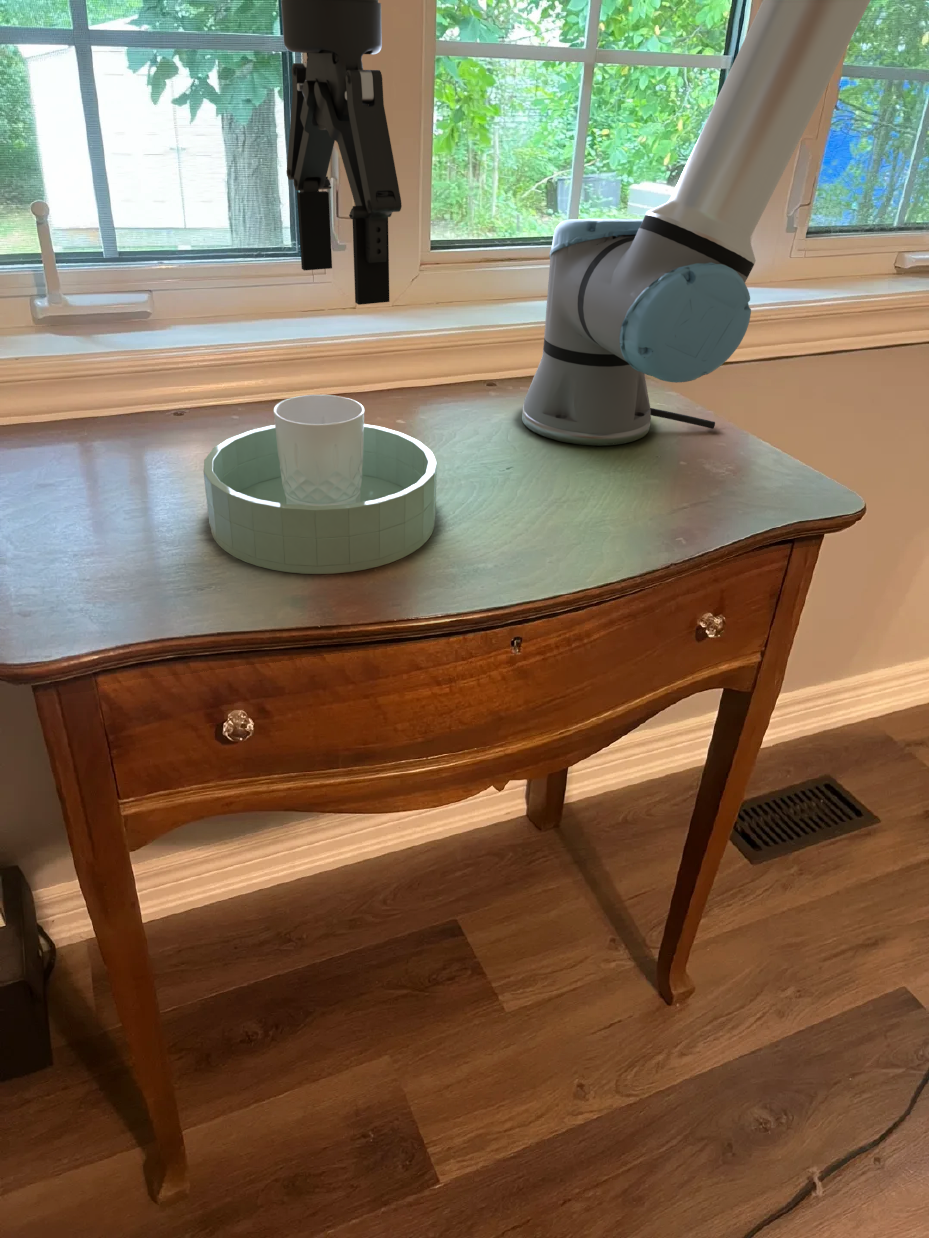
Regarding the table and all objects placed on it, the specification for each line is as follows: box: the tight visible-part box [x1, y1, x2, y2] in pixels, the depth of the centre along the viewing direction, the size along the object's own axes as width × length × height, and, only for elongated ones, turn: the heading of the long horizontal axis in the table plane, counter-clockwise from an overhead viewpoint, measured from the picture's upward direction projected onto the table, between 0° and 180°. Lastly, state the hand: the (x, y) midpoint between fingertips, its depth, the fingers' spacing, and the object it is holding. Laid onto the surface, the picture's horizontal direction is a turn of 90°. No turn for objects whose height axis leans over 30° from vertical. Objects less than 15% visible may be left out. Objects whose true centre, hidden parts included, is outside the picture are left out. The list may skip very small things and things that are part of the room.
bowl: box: [203, 423, 438, 575], centre depth 86 cm, size 21×21×6 cm
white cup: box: [272, 394, 365, 506], centre depth 85 cm, size 8×8×10 cm
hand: (343, 285), depth 82 cm, fingers open, 13 cm apart
